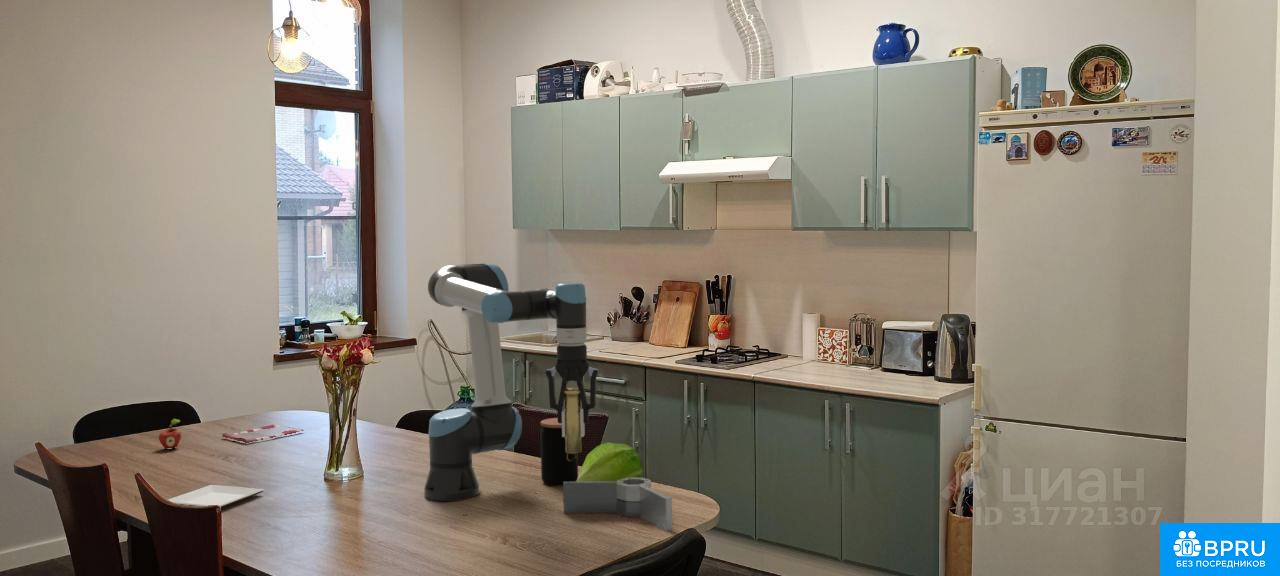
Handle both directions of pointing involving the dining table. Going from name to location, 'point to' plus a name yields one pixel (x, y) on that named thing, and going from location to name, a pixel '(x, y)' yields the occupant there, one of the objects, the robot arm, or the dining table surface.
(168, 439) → the apple
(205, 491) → the plate
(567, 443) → the pin
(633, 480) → the hinge
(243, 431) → the dish towel
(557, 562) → the dining table surface
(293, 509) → the dining table surface
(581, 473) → the lettuce
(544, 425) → the coffee jar
